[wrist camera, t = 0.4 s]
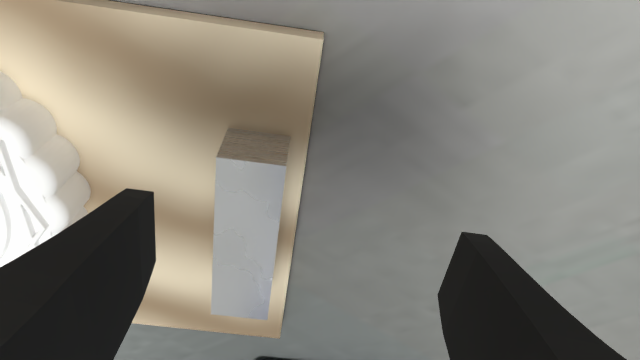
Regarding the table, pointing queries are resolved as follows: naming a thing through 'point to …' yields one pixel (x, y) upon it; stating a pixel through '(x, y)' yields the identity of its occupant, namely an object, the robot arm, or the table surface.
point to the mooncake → (34, 175)
